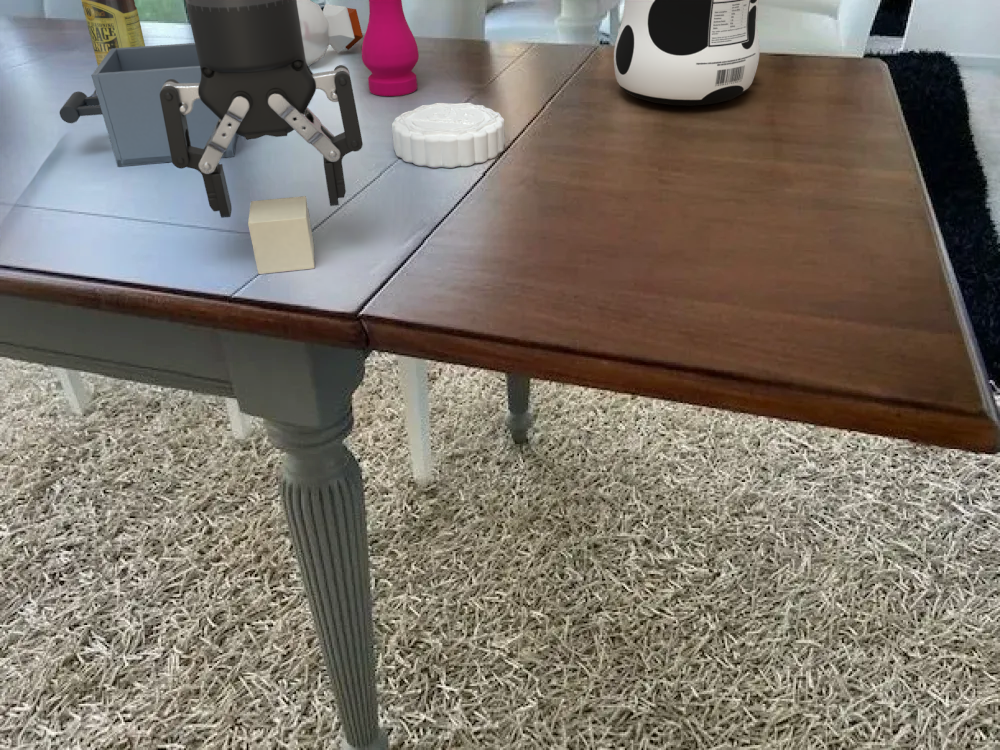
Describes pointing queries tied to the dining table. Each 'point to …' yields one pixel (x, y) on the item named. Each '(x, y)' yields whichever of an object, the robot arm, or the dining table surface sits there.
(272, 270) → the block
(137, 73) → the grey drawer with handle
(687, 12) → the milk container
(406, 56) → the pepper mill
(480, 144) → the mooncake
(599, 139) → the dining table surface
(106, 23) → the sauce bottle
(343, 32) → the potion bottle
